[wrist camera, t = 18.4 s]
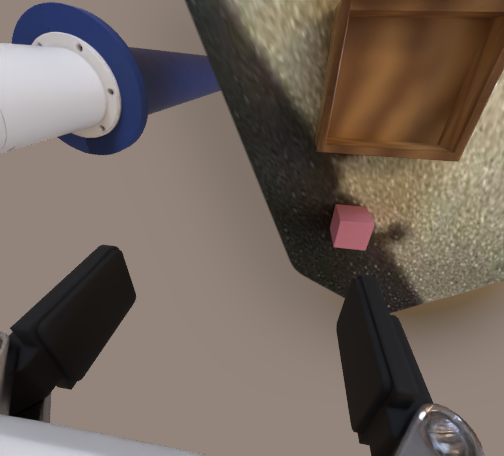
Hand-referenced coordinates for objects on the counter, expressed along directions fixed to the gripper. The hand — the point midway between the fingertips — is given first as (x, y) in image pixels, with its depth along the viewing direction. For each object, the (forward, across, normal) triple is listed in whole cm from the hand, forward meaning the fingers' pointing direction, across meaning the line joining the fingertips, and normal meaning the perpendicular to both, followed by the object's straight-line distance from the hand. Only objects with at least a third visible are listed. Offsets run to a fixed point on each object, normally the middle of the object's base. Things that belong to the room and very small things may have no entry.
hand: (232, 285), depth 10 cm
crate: (+28, -13, -6) cm, 32 cm away
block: (+28, -12, +12) cm, 33 cm away
